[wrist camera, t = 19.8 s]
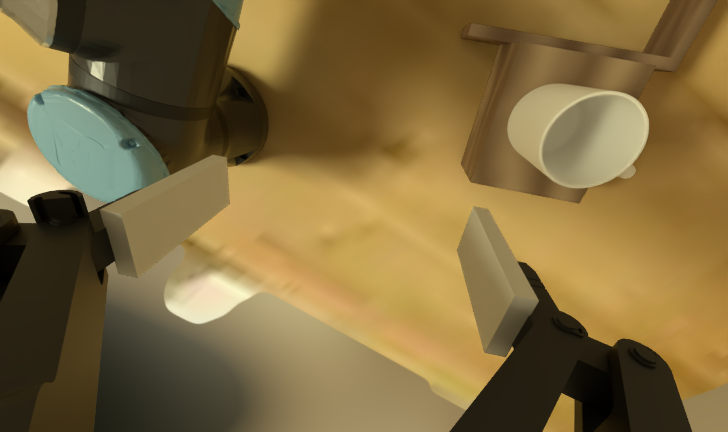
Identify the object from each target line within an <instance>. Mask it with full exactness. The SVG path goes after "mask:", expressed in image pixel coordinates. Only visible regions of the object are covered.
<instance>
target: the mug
mask: <svg viewBox="0 0 728 432" xmlns="http://www.w3.org/2000/svg"><path fill="white" fill-rule="evenodd" d="M507 132H508V138H509V141H510V143H511V145H512V146H513V148H514V149H515V150H516V151H517V152H518V153H519V154H520V155H521V156H523V157H524V158H525V159H526V160H528V161H529V162H530V163H531V164H532V165H534V166H535V167H536V168H537V169H539V170H540V171H541V172H542V173H543V174H545V175H546V176H547V177H548V178H550V179H551V180H552V181H553V182H555V183H557V184H559V185H561V186H564V187H569V188H589V187H594V186H598V185H601V184H603V183H606V182H608V181H610V180H612V179H614V178H616V177H617V176H618V177H620V178H623V179H627V178H631V177H632V176H634V174H635V172H636V169H635V167H634V166H633V165H632V164H633V163H634V162H635V160H636V159H637V158H638V156H639V155H640V154H641V152H642V150H643V148H644V146H645V144H646V141H647V138H648V134H649V119H648V115H647V113H646V110H645V108H644V107H643V106H642V104H641V103H640V102H639V101H638V100H637V99H635V98H634V97H632V96H630V95H628V94H626V93H622V92H618V91H611V90H604V89H597V88H590V87H583V86H576V85H569V84H549V85H544V86H541V87H538V88H536V89H534V90H532V91H531V92H529V93H528V94H526V95H525V96H524V97H523V98H522V99H521V100H520V101H519V102H518V103H517V104H516V106H515V107H514V109H513V110H512V112H511V115H510V117H509V120H508V126H507Z"/></svg>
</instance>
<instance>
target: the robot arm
mask: <svg viewBox="0 0 728 432" xmlns="http://www.w3.org/2000/svg"><path fill="white" fill-rule="evenodd" d="M243 1H244V0H0V12H2V13H4V14H5V15H7V16H8V17H10V18H12V19H13V20H14V21H15V22H16V23H17V24H18V25H19V26H20V27H21V28H22V29H23V30H24V31H25V32H27V33H28V34H29V35H30V36H31V37H32V38H33V39H34V40H35V41H36V42H37V43H38V44H39V45H41V46H43V47H46V48H51V49H55V50H59V51H63V52H67V53H69V71H68V84H67V86H65V85H54V86H50V87H48V88H47V89H46V90H44V91H43V92H42V93H39V94H36V95H34V97H33V98H32V99H31V101H30V103H29V106H28V114H27V115H28V124H29V128H30V131H31V134H32V136H33V138H34V140H35V142H36V144H37V146H38V148H39V149H40V151H41V152H42V154H43V155H44V157H45V158H46V159H47V161H48V162H49V163H50V164H51V165H52V166H53V167H54V168H55V169H56V170H57V171H58V173H59V174H60V175H61V176H62V177H64V178H65V179H66V180H67V181H68V182H69V183H71V184H72V185H73V186H75V187H76V188H78V189H79V190H81V191H82V192H84V193H86V194H87V195H89V196H91V197H93V198H95V199H98V200H100V201H103V202H106V203H108V204H105V205H103V206H101V207H99V208H97V209H95V210H93V211H91V212H89V213H88V210H87V207H86V204H85V201H84V198H83V195H82V193H80V192H78V191H73V190H56V191H49V192H45V193H41V194H38V195H35V196H33V197H31V198H30V199H29V200H27V202H28V204H29V206H30V209H31V211H32V213H33V216H34V218H35V221H36V223H18V221H17V219H16V216H15V214H14V213H13V211H10V210H5V209H4V210H3V209H0V432H93V431H94V420H95V410H96V399H97V389H98V377H99V367H100V356H101V346H102V336H103V325H104V315H105V304H106V293H107V283H108V273H107V270H106V267H107V266H108V265H110V264H111V263H113V262H114V261H115V263H116V266H117V270H118V273H119V274H122V275H127V276H131V277H136V278H138V277H140V276H141V275H142V274H143V273H145V272H146V271H147V270H148V269H150V268H151V267H152V266H153V265H154V264H156V263H157V262H158V261H159V260H161V259H162V258H163V257H164V256H166V255H167V254H168V253H169V252H170V251H172V250H173V249H174V248H176V247H177V246H178V245H179V244H181V243H182V242H183V241H184V240H185V239H187V238H188V237H189V236H190V235H192V234H193V233H194V232H195V231H197V230H198V229H199V228H200V227H202V226H203V225H204V224H205V223H206V222H208V221H209V220H210V219H211V218H213V217H214V216H215V215H216V214H218V213H219V212H220V211H221V210H223V209H224V208H225V207H226V206H228V205H229V204H230V200H229V184H228V168H227V167H232V166H237V165H240V164H243V163H245V162H246V161H248V160H250V159H251V158H253V157H254V156H255V155H257V154H258V153H259V151H260V150H261V149H262V147H263V146H264V144H265V141H266V138H267V134H268V116H267V112H266V108H265V105H264V103H263V100H262V98H261V96H260V95H259V93H258V91H257V90H256V88H255V87H254V86H253V85H252V83H251V82H250V81H249V80H248V79H247V78H246V77H244V76H243V75H242V74H241V73H239V72H238V71H236V70H234V69H233V68H231V67H228V66H227V63H228V59H229V56H230V52H231V49H232V45H233V42H234V38H235V35H236V32H237V30H239V28H240V23H239V18H240V14H241V9H242V5H243ZM457 252H458V256H459V259H460V263H461V267H462V271H463V274H464V278H465V282H466V285H467V289H468V293H469V297H470V300H471V304H472V308H473V312H474V315H475V319H476V323H477V326H478V330H479V334H480V338H481V341H482V345H483V349H484V353H489V354H493V355H498V356H503V357H506V356H507V354H508V352H509V351H510V349H511V347H512V346H513V348H514V350H513V352H512V353H511V354H510V356H509V357H508V358H507V359H506V361H505V362H504V363H503V364H502V366H501V367H500V368H499V370H498V371H497V372H496V373H495V375H494V376H493V377H492V378H491V380H490V381H489V382H488V384H487V385H486V386H485V387H484V389H483V390H482V391H481V392H480V394H479V395H478V396H477V397H476V399H475V400H474V401H473V403H472V404H471V405H470V406H469V408H468V409H467V410H466V411H465V413H464V414H463V415H462V417H461V418H460V419H459V420H458V422H457V423H456V424H455V426H454V427H453V428H452V429H451V431H450V432H542V431H543V429H544V427H545V425H546V423H547V421H548V419H549V417H550V415H551V413H552V411H553V409H554V407H555V405H556V403H557V401H558V399H559V397H560V395H561V393H563V394H565V395H567V396H569V397H571V398H573V399H575V424H574V432H692V430H691V427H690V424H689V421H688V418H687V415H686V412H685V409H684V406H683V403H682V401H681V398H680V395H679V392H678V389H677V386H676V383H675V380H674V377H673V374H672V371H671V369H670V368H669V366H668V364H667V363H666V362H665V361H664V360H663V359H662V358H661V357H660V356H659V355H658V354H657V353H656V352H655V351H653V350H652V349H650V348H649V347H646V346H644V345H642V344H641V343H638V342H636V341H633V340H630V339H620V340H618V341H617V342H616V344H615V345H614V346H613V347H611V346H609V345H606V344H604V343H602V342H599V341H597V340H595V339H592V338H590V337H588V333H587V331H586V329H585V328H584V327H583V326H582V325H581V323H580V322H579V321H577V320H576V319H574V318H573V317H572V316H570V315H568V314H566V313H564V312H561V311H559V309H558V308H557V306H556V305H555V303H554V301H553V300H552V298H551V296H550V295H549V293H548V292H547V290H546V289H545V287H544V285H543V283H542V282H540V281H541V280H540V278H539V277H538V275H537V274H536V272H535V271H534V270H533V269H532V268H531V267H530V266H528V265H527V264H526V263H523V262H518V261H517V260H516V258H515V257H514V255H513V253H512V251H511V249H510V248H509V246H508V244H507V242H506V240H505V239H504V237H503V235H502V233H501V231H500V230H499V228H498V226H497V224H496V222H495V221H494V219H493V217H492V215H491V213H490V211H489V210H488V209H485V208H480V207H475V206H473V209H472V211H471V214H470V217H469V219H468V222H467V225H466V227H465V230H464V233H463V235H462V238H461V241H460V243H459V246H458V249H457Z"/></svg>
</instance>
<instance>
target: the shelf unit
mask: <svg viewBox="0 0 728 432" xmlns="http://www.w3.org/2000/svg"><path fill="white" fill-rule="evenodd" d="M716 2H717V0H670V2H669V4H668V6H667V8H666V10H665V11H664V13H663V15H662V17H661V19H660V21H659V23H658V25H657V27H656V28H655V30H654V32H653V34H652V36H651V38H650V40H649V42H648V43H647V45H646V47H645V49H644V51H643V53H640V52H634V51H629V50H623V49H617V48H612V47H606V46H600V45H595V44H589V43H583V42H577V41H572V40H566V39H560V38H555V37H549V36H543V35H537V34H532V33H526V32H520V31H515V30H509V29H503V28H498V27H492V26H486V25H480V24H475V23H470V24H469V25H467V26H465V27H464V29H463V32H462V36H461V38H462V39H468V40H474V41H479V42H485V43H491V44H496V45H499V49H498V52H497V55H496V58H495V61H494V64H493V67H492V70H491V73H490V76H489V79H488V82H487V85H486V88H485V91H484V94H483V97H482V101H481V104H480V107H479V110H478V113H477V116H476V119H475V122H474V125H473V128H472V131H471V134H470V137H469V140H468V143H467V146H466V149H465V153H464V156H463V159H462V162H461V165H462V167H463V169H464V171H465V172H466V174H467V176H468V178H469V180H470V182H471V183H477V184H482V185H487V186H492V187H497V188H502V189H507V190H513V191H518V192H523V193H528V194H533V195H538V196H543V197H548V198H554V199H559V200H564V201H569V202H574V203H580V201H581V199H582V198H583V196H584V194H585V192H586V190H587V189H588V188H569V187H564V186H561V185H559V184H557V183H555V182H553V181H552V180H551V179H550V178H548V177H547V176H546V175H545V174H543V173H542V172H541V171H540V170H539V169H537V168H536V167H535V166H534V165H532V164H531V163H530V162H529V161H528V160H526V159H525V158H524V157H523V156H521V155H520V154H519V153H518V152H517V151H516V150H515V149H514V148H513V146H512V145H511V143H510V141H509V138H508V132H507V126H508V120H509V117H510V115H511V112H512V110H513V109H514V107H515V106H516V104H517V103H518V102H519V101H520V100H521V99H522V98H523V97H524V96H525V95H526V94H528V93H529V92H531V91H532V90H534V89H536V88H538V87H541V86H544V85H549V84H569V85H576V86H583V87H590V88H597V89H604V90H611V91H618V92H622V93H626V94H628V95H630V96H632V97H634V98H635V99H637V100H638V98H639V96H640V94H641V93H642V91H643V89H644V87H645V85H646V84H647V82H648V80H649V78H650V76H651V75H652V73H653V71H665V72H675V71H676V70H677V68H678V66H679V64H680V63H681V61H682V59H683V58H684V56H685V54H686V53H687V51H688V49H689V48H690V46H691V44H692V43H693V41H694V39H695V38H696V36H697V34H698V32H699V31H700V29H701V27H702V26H703V24H704V22H705V21H706V19H707V17H708V16H709V14H710V12H711V11H712V9H713V7H714V5H715V4H716Z"/></svg>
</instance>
